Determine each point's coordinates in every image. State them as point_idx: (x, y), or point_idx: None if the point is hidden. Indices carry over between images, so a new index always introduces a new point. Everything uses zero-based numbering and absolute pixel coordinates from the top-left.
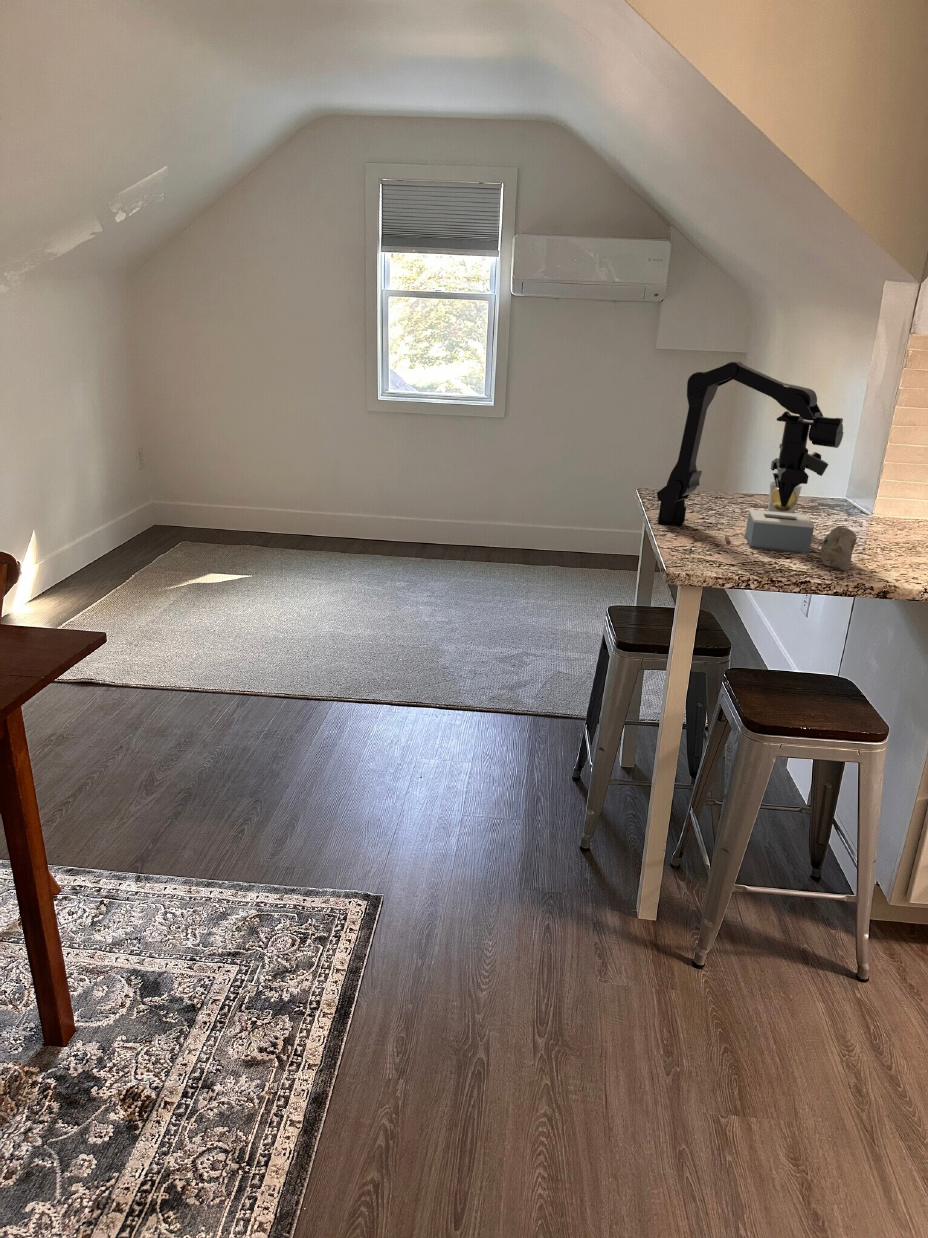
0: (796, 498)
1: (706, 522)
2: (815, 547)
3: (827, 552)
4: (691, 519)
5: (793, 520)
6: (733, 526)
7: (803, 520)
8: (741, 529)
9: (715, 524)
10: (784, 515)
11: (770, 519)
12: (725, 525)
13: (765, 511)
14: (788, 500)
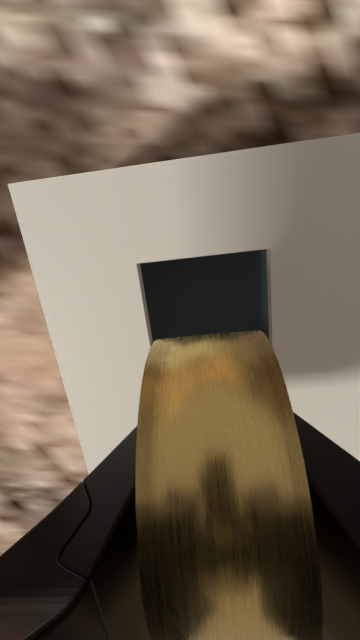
0: (274, 360)
1: (10, 513)
2: (169, 124)
3: None
4: (2, 547)
5: (280, 287)
6: (4, 443)
7: (244, 214)
8: (31, 421)
9: (18, 491)
10: (142, 339)
11: (317, 422)
12: (8, 465)
13: (96, 436)
14: (309, 425)
